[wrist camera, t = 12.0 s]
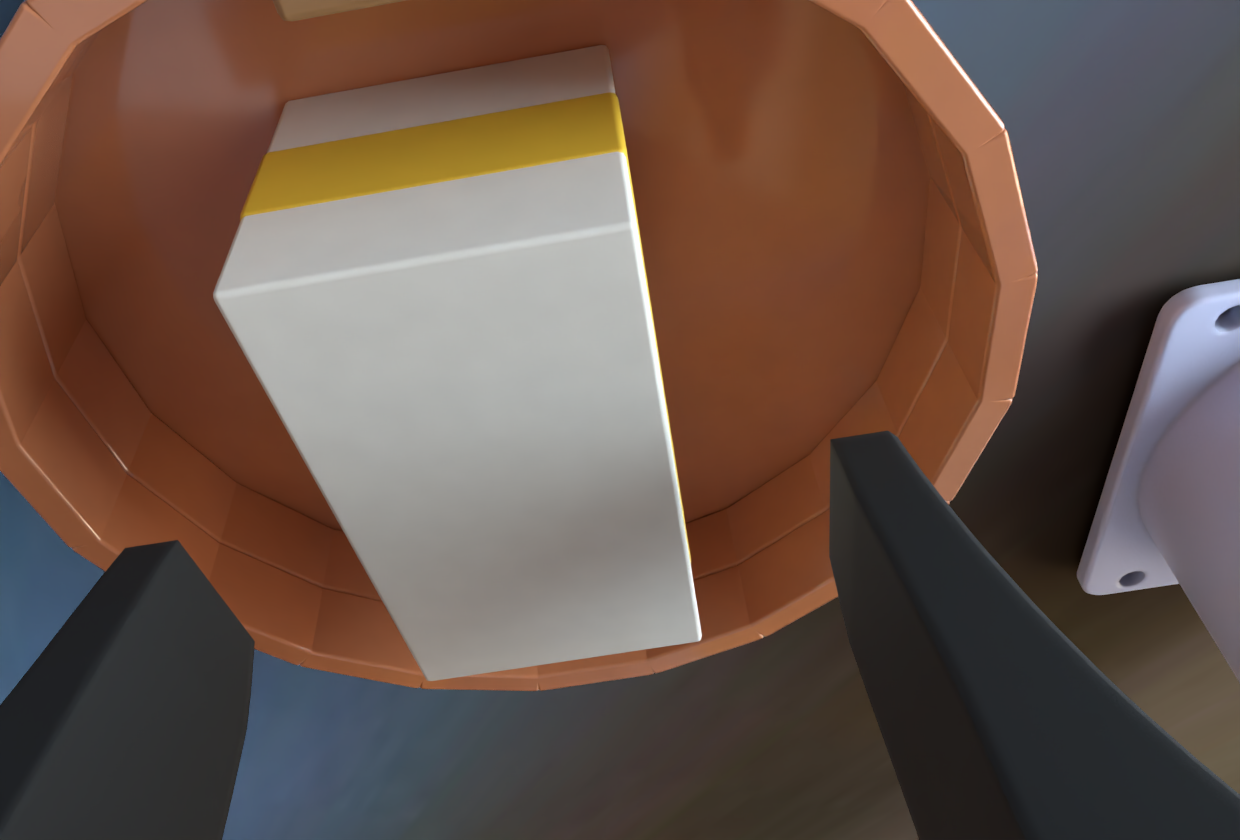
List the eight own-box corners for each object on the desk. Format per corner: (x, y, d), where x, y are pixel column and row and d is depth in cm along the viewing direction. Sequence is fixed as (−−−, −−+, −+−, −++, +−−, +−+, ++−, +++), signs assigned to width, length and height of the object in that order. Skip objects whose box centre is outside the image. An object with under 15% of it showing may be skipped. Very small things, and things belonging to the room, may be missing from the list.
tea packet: (608, 39, 11) (638, 221, 9) (671, 442, 16) (704, 643, 14) (282, 97, 12) (204, 294, 9) (441, 478, 17) (425, 684, 14)
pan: (1010, -349, 9) (1154, -304, 7) (918, 497, 19) (970, 629, 16) (-227, -109, 10) (-429, -1, 8) (268, 597, 19) (237, 736, 17)
